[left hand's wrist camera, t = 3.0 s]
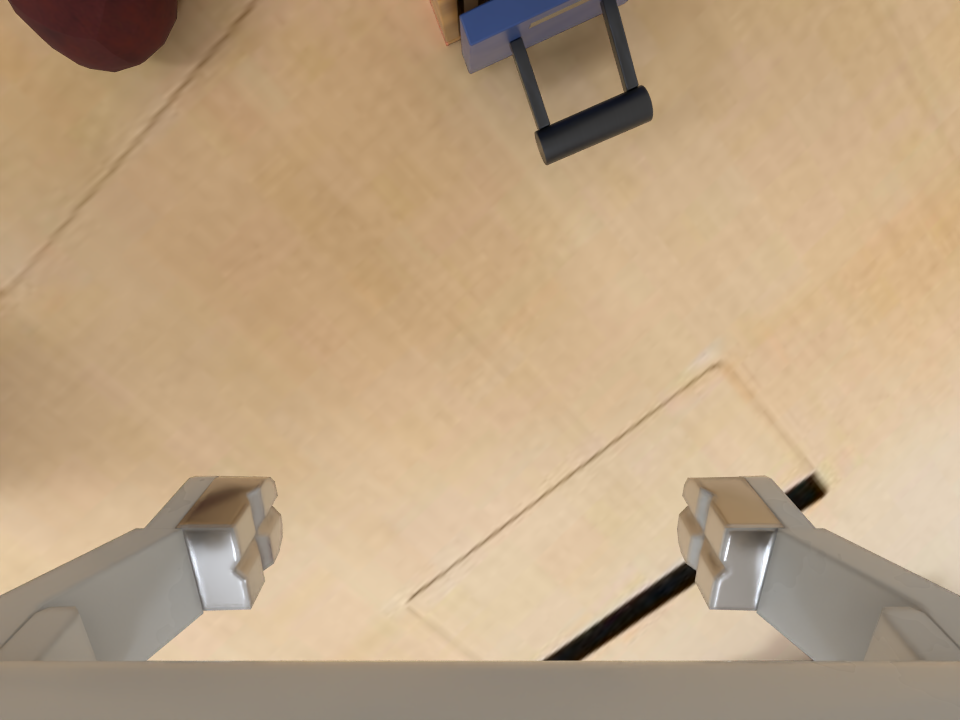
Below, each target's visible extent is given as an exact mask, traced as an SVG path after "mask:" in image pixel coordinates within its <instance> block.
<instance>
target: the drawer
mask: <svg viewBox="0 0 960 720" xmlns="http://www.w3.org/2000/svg"><path fill="white" fill-rule="evenodd" d="M626 1H628V0H458V2H459V5H460V7H461V10H462V14H461V15H460V32H461V47H462V55H463V58H464V60H465V63H466V66H467V68H468V71H469V73H470V74H472V73H474V72H476V71H478V70H480V69H483V68H485V67H487V66H489V65H491V64H493V63H496V62H498V61H500V60H502V59H504V58H507V57H509V56H511V55H513V58H514V61H515V64H516V67H517V70H518V73H519V76H520V79H521V82H522V85H523V88H524V91H525V94H526V97H527V99H528V102H529V105H530V108H531V111H532V114H533V117H534V120H535V123H536V126H537V129H538V131H536V132H535V139H536V143H537V146H538V149H539V152H540V154H541V157H542V159H543V161H544V163H545V164H546V165H549V164H551V163H553V162H556V161H558V160H560V159H563V158H565V157H567V156H570V155H572V154H574V153H577V152H579V151H581V150H584V149H586V148H588V147H591V146H593V145H595V144H598V143H600V142H602V141H605V140H607V139H609V138H612V137H614V136H616V135H619V134H621V133H623V132H626V131H628V130H630V129H633V128H635V127H637V126H640V125H642V124H644V123H647V122H649V121H651V120H652V118H653V107H652V102H651V99H650V96H649V93H648V91H647V90H646V88H645V87H644V86H642V85H640V86H638V81H637V78H636V74H635V70H634V66H633V62H632V59H631V55H630V51H629V47H628V43H627V40H626V36H625V32H624V28H623V25H622V21H621V17H620V13H619V9H618V6H620V5H622V4H624V3H625V2H626ZM602 13H603V17H604V20H605V24H606V28H607V31H608V35H609V39H610V42H611V46H612V50H613V53H614V57H615V61H616V64H617V68H618V72H619V75H620V79H621V82H622V86H623V90H624V93H622V94H620V95H617V96H615V97H613V98H611V99H608V100H606V101H604V102H601V103H599V104H597V105H595V106H592V107H590V108H588V109H586V110H583V111H581V112H579V113H576V114H574V115H572V116H570V117H567V118H565V119H563V120H560V121H558V122H556V123H554V124H551V125H550V122H549V119H548V116H547V113H546V110H545V107H544V104H543V101H542V97H541V94H540V91H539V88H538V85H537V82H536V79H535V76H534V73H533V70H532V67H531V64H530V61H529V58H528V55H527V52H526V48H528V47H530V46H533V45H535V44H537V43H539V42H541V41H544V40H546V39H548V38H550V37H552V36H554V35H557V34H559V33H561V32H563V31H565V30H567V29H570V28H572V27H574V26H576V25H578V24H580V23H583V22H585V21H587V20H589V19H591V18H594V17H596V16H598V15H600V14H602ZM626 91H627V92H626Z"/></svg>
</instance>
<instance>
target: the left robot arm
mask: <svg viewBox="0 0 960 720" xmlns="http://www.w3.org/2000/svg"><path fill="white" fill-rule="evenodd" d="M277 496H278V495H277V490H276V486H275V481H274V480H273V479H272V478H271V477H241V476H220V477H219V476H195V477H191V478H189V479H188V480H187V481H186V482H185V483H184V484H183V486H182V487H181V488H180V489H179V490H178V491H177V492H176V493H175V494H174V496H173V497H172V498H171V499H170V500H169V501H168V502H167V503H166V505H165V506H164V507H163V508H162V509H161V510H160V511H159V512H158V513H157V515H156V516H155V517H154V518H153V519H152V520H151V521H150V522H149V524H148V525H147V526H146V527H145V528H144V529H134V530H132V531H130V532H128V533H126V534H124V535H122V536H120V537H118V538H116V539H114V540H112V541H110V542H108V543H106V544H104V545H102V546H100V547H97V548H95V549H93V550H91V551H89V552H87V553H85V554H83V555H81V556H79V557H77V558H75V559H73V560H71V561H69V562H67V563H65V564H63V565H61V566H59V567H57V568H55V569H53V570H51V571H49V572H47V573H45V574H43V575H41V576H39V577H37V578H35V579H33V580H31V581H29V582H27V583H25V584H23V585H21V586H19V587H17V588H15V589H13V590H11V591H9V592H7V593H5V594H3V595H1V596H0V720H960V596H959V595H957V594H955V593H953V592H951V591H949V590H947V589H945V588H943V587H941V586H939V585H937V584H935V583H933V582H931V581H929V580H927V579H925V578H923V577H921V576H919V575H917V574H915V573H913V572H911V571H909V570H907V569H905V568H903V567H901V566H899V565H897V564H895V563H893V562H891V561H889V560H887V559H885V558H883V557H881V556H879V555H877V554H875V553H872V552H870V551H868V550H866V549H864V548H862V547H860V546H858V545H856V544H854V543H852V542H850V541H848V540H846V539H844V538H842V537H840V536H838V535H836V534H834V533H832V532H830V531H828V530H826V529H816V528H815V527H814V526H813V525H812V524H811V522H810V521H809V520H808V519H807V518H806V517H805V516H804V515H803V513H802V512H801V511H800V510H799V509H798V508H797V507H796V506H795V505H794V503H793V502H792V501H791V500H790V499H789V498H788V497H787V496H786V494H785V493H784V492H783V491H782V490H781V489H780V488H779V487H778V485H777V484H776V483H775V482H774V481H773V480H772V479H771V478H769V477H767V476H739V477H707V478H687V480H686V482H685V484H684V490H683V495H682V496H683V498H684V499H685V501H686V503H687V505H688V506H687V507H686V508H685V509H684V510H683V511H682V512H681V513H680V514H679V520H678V527H677V531H678V543H679V546H680V550H681V553H682V555H683V558H684V560H685V562H686V564H688V565H689V566H691V567H692V568H694V569H695V570H696V571H697V573H696V579H695V582H696V584H697V586H698V588H699V590H700V592H701V594H702V596H703V598H704V600H705V602H706V604H707V606H708V608H709V609H717V610H753V611H757V614H759V615H760V616H761V617H762V618H763V619H765V620H766V621H767V622H768V623H769V624H771V625H772V626H773V627H774V628H775V629H776V630H778V631H779V632H780V633H781V634H782V635H784V636H785V637H786V638H787V639H788V640H790V641H791V642H792V643H793V644H794V645H796V646H797V647H798V648H799V649H800V650H802V651H803V652H804V653H805V654H806V655H808V656H809V657H810V658H811V659H812V660H814V661H147V660H148V659H149V658H150V657H151V656H153V655H154V654H155V653H156V652H157V651H159V650H160V649H161V648H162V647H163V646H165V645H166V644H167V643H168V642H169V641H171V640H172V639H173V638H174V637H175V636H177V635H178V634H179V633H180V632H181V631H183V630H184V629H185V628H186V627H187V626H189V625H190V624H191V623H192V622H193V621H195V620H196V619H197V618H198V617H199V616H201V615H202V614H203V611H207V610H241V609H251V608H252V606H253V604H254V602H255V600H256V598H257V596H258V594H259V592H260V590H261V588H262V586H263V584H264V582H265V579H264V573H263V571H264V570H265V569H266V568H268V567H269V566H271V565H272V564H274V562H275V560H276V558H277V555H278V553H279V550H280V546H281V541H282V519H281V514H280V513H279V512H278V511H277V510H276V509H275V508H274V507H273V506H272V505H273V503H274V501H275V499H276V498H277Z"/></svg>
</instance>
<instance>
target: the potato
mask: <svg viewBox="0 0 960 720" xmlns="http://www.w3.org/2000/svg"><path fill="white" fill-rule="evenodd" d="M8 1H9V3H10V4H11V6H12V8H13V9H14V11H15V12H16V14H17V15H19V16H20V17H21V18H22V19H23V20H24V21H25V22H26V23H27V24H28V25H29V26H30V27H31V28H32V29H33V30H34V31H35V32H36V33H37V34H38V35H39V36H40V37H41V38H42V39H43V40H44V41H45V42H47V43H48V44H49V45H50V46H51V47H52V48H53V49H55V50H57V51H58V52H60V53H61V54H63V55H64V56H66V57H68V58H69V59H71V60H72V61H74V62H76V63H77V64H79V65H82V66H84V67H87V68H90V69H96V70H103V71H110V72H117V71H120V70H123V69H127V68H130V67H133V66H136V65H139V64H141V63H143V62H145V61H146V60H147V59H148V58H149V57H150V56H151V55H152V54H153V53H154V52H156V51H157V50H158V49H159V48H160V47H161V46H162V45H163V44H164V43H165V41H166V39H167V37H168V35H169V33H170V31H171V29H172V27H173V25H174V23H175V21H176V19H177V0H8Z"/></svg>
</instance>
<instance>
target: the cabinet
mask: <svg viewBox="0 0 960 720" xmlns="http://www.w3.org/2000/svg"><path fill="white" fill-rule="evenodd" d="M430 3H431V6H432V8H433V11H434V14H435V16H436V19H437V22H438V24H439V27H440V30H441V32H442V35H443V38H444V40H445V43H446V46H448V45H449V44H452V43H454V42H456V41H458V40H460V39H461V32H460V15H461V14H462V10H461V7H460V5H459V2H458V0H430Z"/></svg>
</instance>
